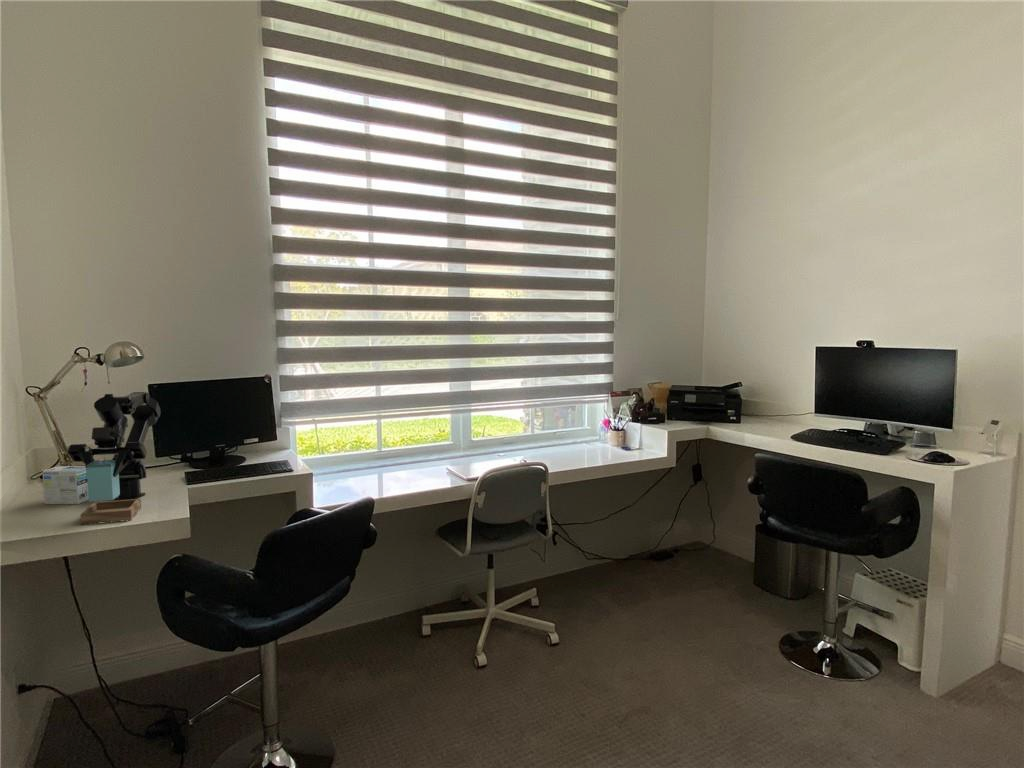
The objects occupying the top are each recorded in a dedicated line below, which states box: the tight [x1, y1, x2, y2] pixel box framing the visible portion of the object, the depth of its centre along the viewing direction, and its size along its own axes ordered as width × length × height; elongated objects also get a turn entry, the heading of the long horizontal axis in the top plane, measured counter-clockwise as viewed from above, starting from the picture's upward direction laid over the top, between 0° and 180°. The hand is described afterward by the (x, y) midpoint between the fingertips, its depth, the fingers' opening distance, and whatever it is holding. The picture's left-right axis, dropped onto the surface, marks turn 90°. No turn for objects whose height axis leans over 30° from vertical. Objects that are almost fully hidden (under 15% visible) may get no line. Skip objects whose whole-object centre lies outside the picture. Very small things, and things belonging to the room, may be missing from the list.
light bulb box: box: [41, 465, 89, 505], centre depth 184 cm, size 11×7×11 cm, turn 92°
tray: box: [79, 498, 142, 525], centre depth 171 cm, size 12×12×3 cm
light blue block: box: [85, 457, 120, 502], centre depth 169 cm, size 6×6×12 cm
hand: (101, 476), depth 168 cm, fingers closed on light blue block, 6 cm apart
